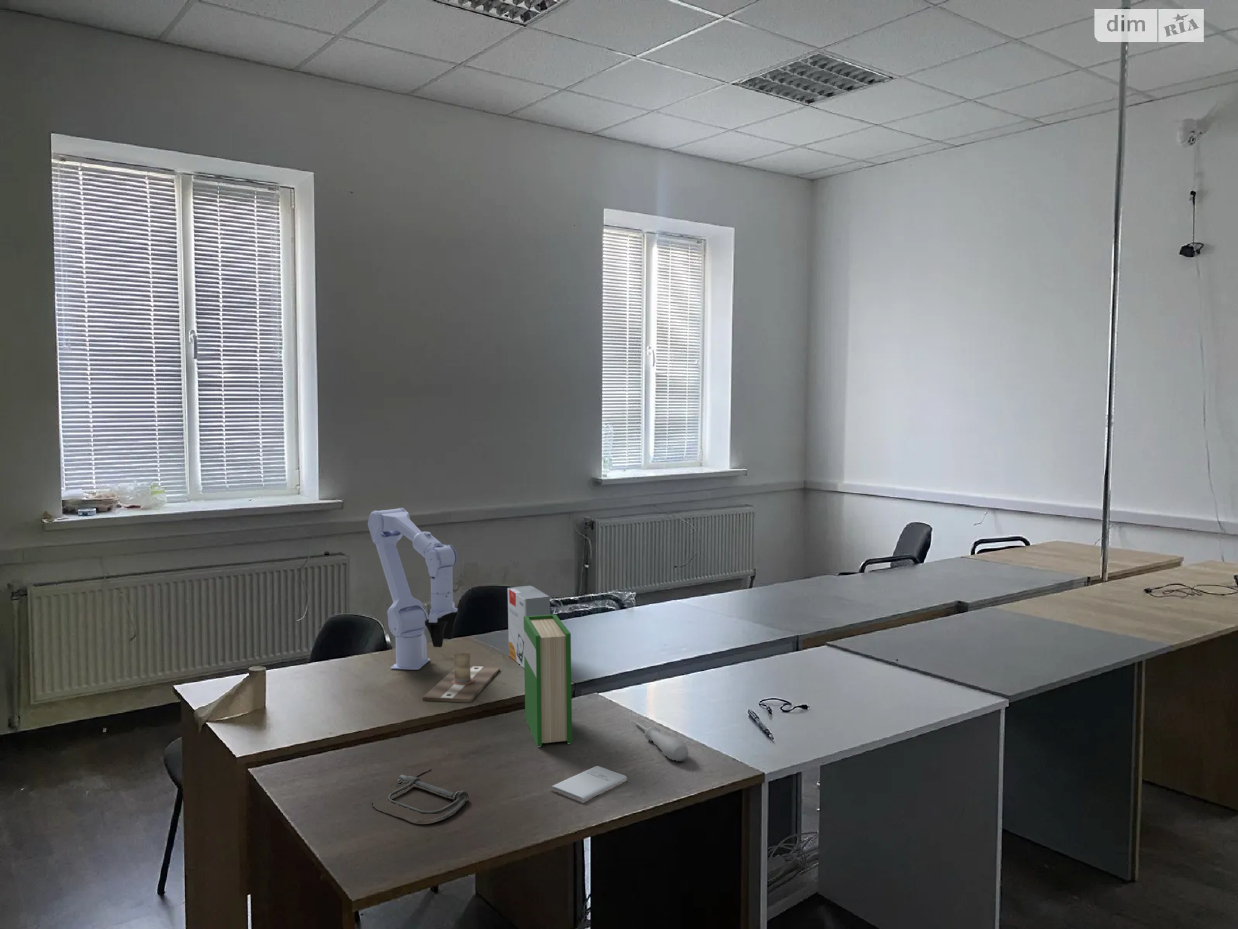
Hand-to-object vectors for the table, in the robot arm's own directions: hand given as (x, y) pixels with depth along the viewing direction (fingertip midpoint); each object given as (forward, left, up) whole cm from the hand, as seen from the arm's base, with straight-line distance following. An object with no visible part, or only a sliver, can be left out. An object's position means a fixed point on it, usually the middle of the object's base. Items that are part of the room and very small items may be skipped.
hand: (442, 642), depth 237 cm
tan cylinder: (+5, +7, -8) cm, 12 cm away
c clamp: (+70, +21, -10) cm, 74 cm away
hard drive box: (-17, +19, -10) cm, 27 cm away
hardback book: (+34, +36, -10) cm, 51 cm away
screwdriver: (+38, +61, -10) cm, 73 cm away
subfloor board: (+5, +7, -9) cm, 13 cm away
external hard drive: (+61, +50, -10) cm, 80 cm away
